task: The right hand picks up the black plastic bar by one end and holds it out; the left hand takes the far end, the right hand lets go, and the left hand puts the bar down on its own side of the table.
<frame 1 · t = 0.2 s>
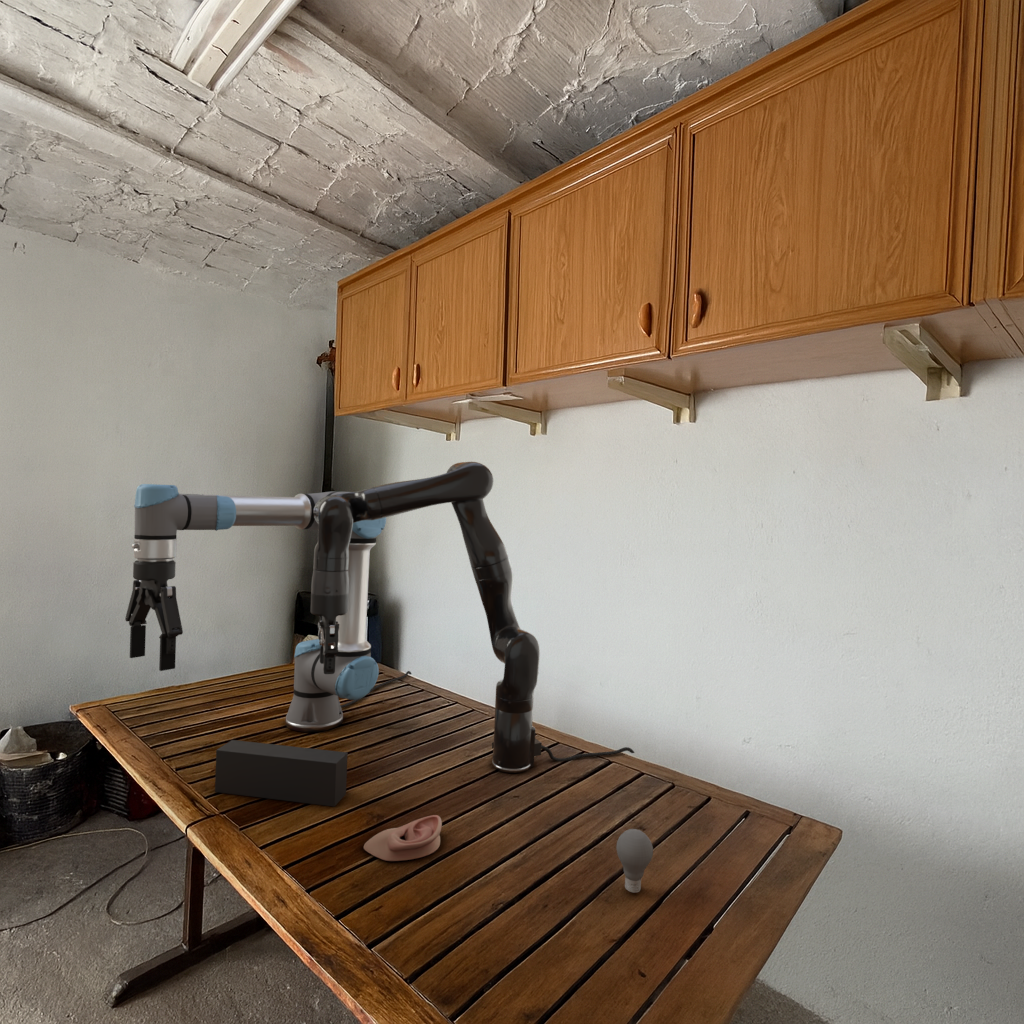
left hand: (151, 663, 130), 28 cm above the table, tool pointing down, fingers open, 13 cm apart
right hand: (327, 668, 133), 28 cm above the table, tool pointing down, fingers open, 8 cm apart
light bulb: (632, 891, 106), on the table
fossil: (322, 679, 218), on the table
anatomical model: (403, 845, 116), on the table
bar: (280, 793, 135), on the table
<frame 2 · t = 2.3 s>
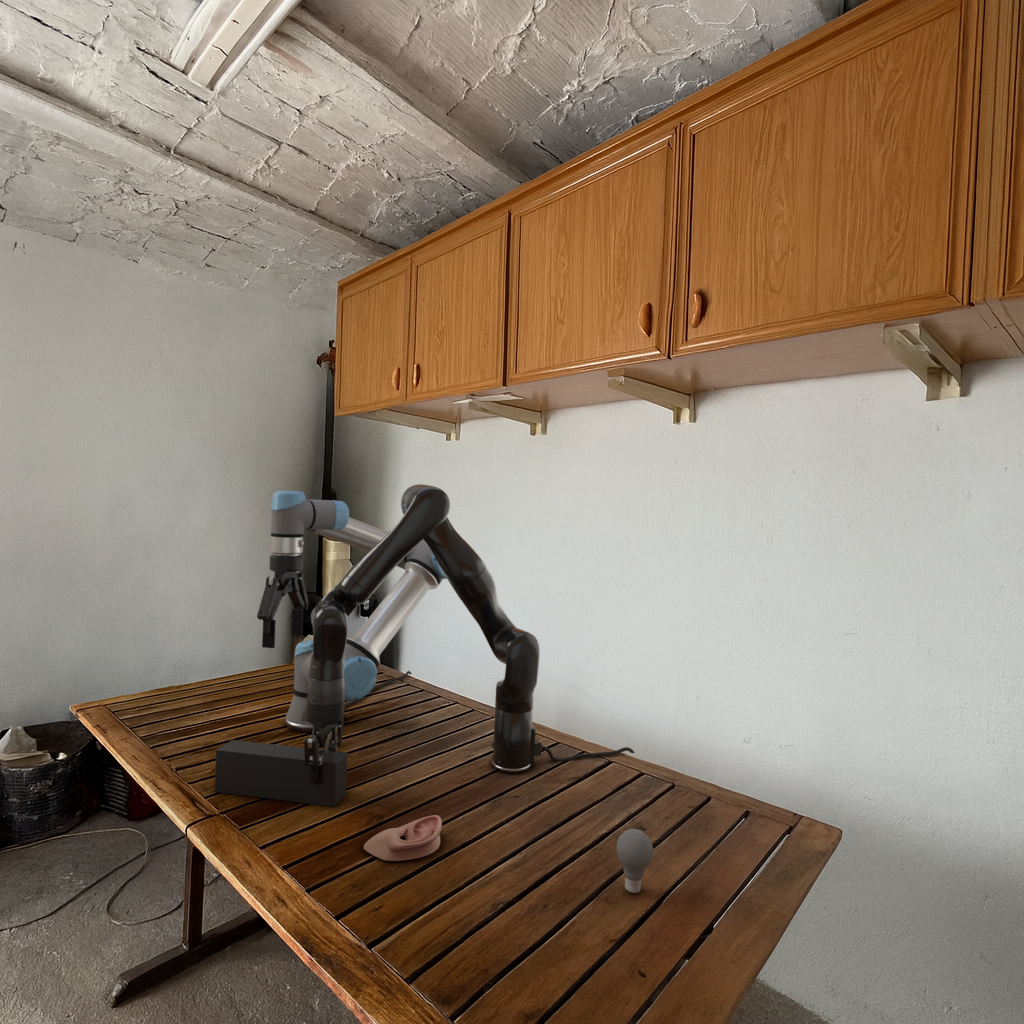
left hand: (283, 641, 154), 28 cm above the table, tool pointing down, fingers open, 13 cm apart
right hand: (323, 776, 133), 5 cm above the table, tool pointing down, fingers closed on bar, 6 cm apart
bar: (280, 793, 135), on the table, touching right hand
everything else where it was.
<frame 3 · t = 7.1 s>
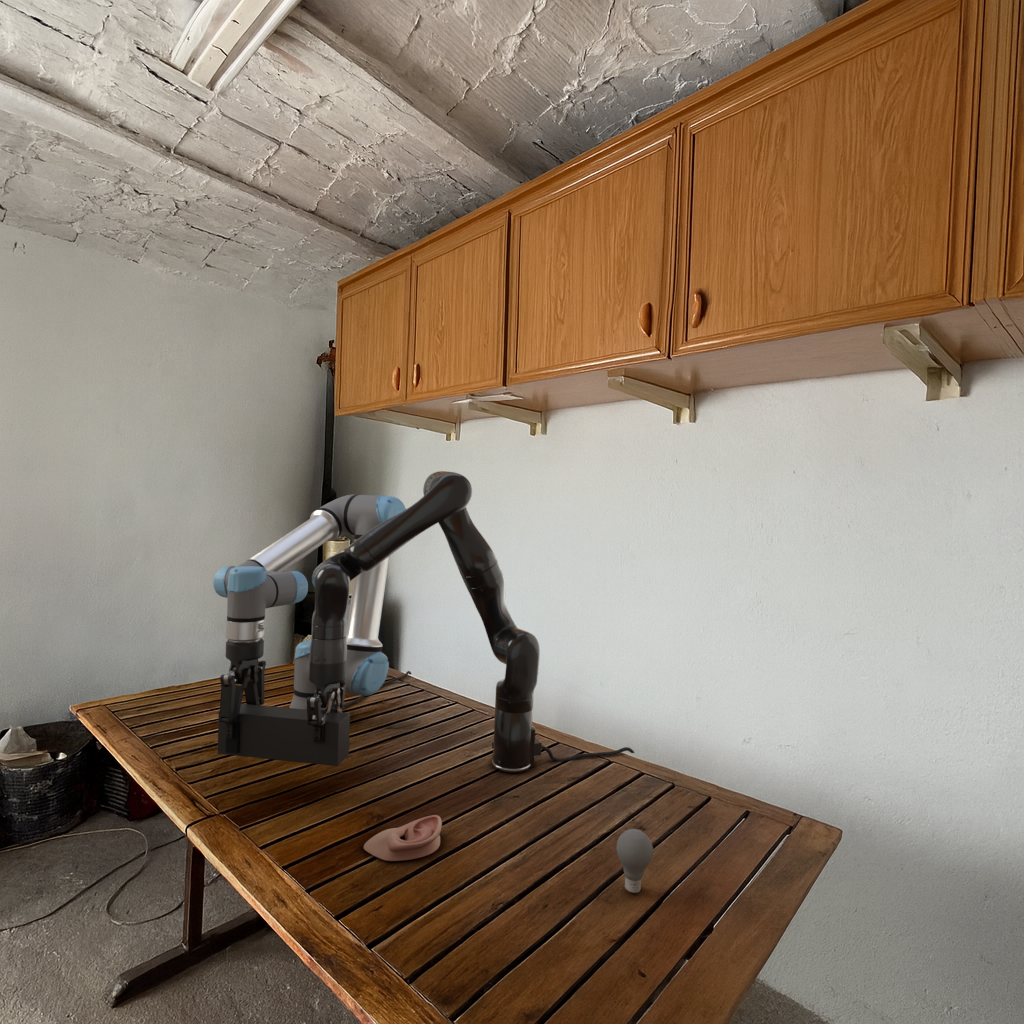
left hand: (241, 746, 136), 9 cm above the table, tool pointing down, fingers closed on bar, 6 cm apart
right hand: (325, 737, 133), 13 cm above the table, tool pointing down, fingers closed on bar, 6 cm apart
bar: (283, 754, 135), point 8 cm above the table, touching left hand, right hand
everything else where it was.
when the left hand's fingers open (2 cm above the table, at t = 15.5 s): bar stays where it is, on the table.
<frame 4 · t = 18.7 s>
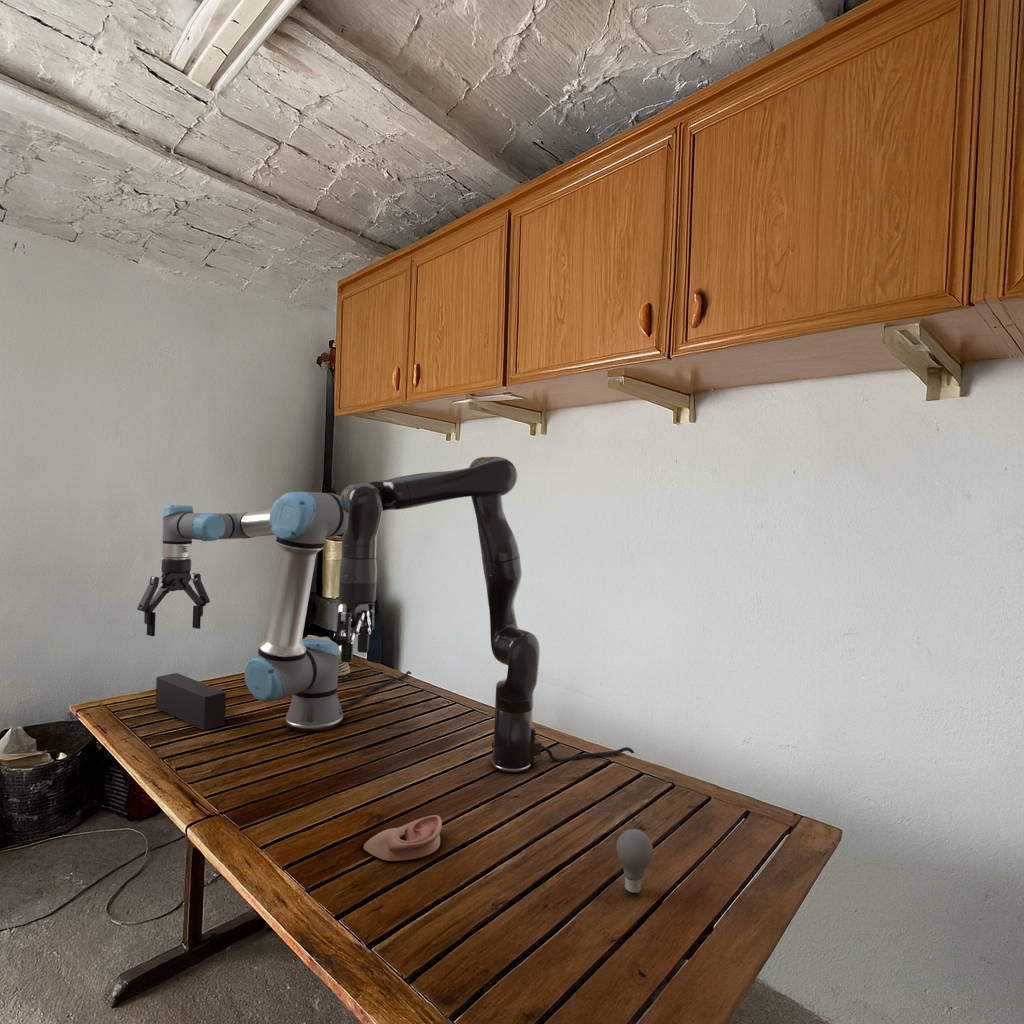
left hand: (174, 631, 183), 22 cm above the table, tool pointing down, fingers open, 13 cm apart
right hand: (355, 656, 132), 30 cm above the table, tool pointing down, fingers open, 8 cm apart
bar: (188, 716, 177), on the table
everything else where it was.
at the end: bar inside the target area (9.9 cm from its centre), on the table; the left hand is holding nothing; the right hand is holding nothing; bar at rest at the end (0.0 cm/s) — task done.
